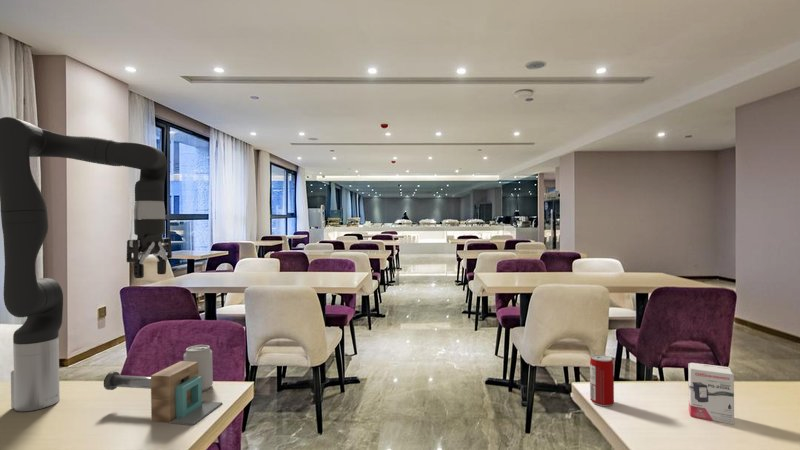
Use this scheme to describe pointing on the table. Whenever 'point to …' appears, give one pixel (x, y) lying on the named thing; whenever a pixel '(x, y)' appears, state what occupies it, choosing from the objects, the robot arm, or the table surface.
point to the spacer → (181, 396)
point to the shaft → (127, 381)
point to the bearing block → (169, 389)
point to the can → (201, 363)
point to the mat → (197, 413)
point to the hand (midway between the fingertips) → (150, 276)
